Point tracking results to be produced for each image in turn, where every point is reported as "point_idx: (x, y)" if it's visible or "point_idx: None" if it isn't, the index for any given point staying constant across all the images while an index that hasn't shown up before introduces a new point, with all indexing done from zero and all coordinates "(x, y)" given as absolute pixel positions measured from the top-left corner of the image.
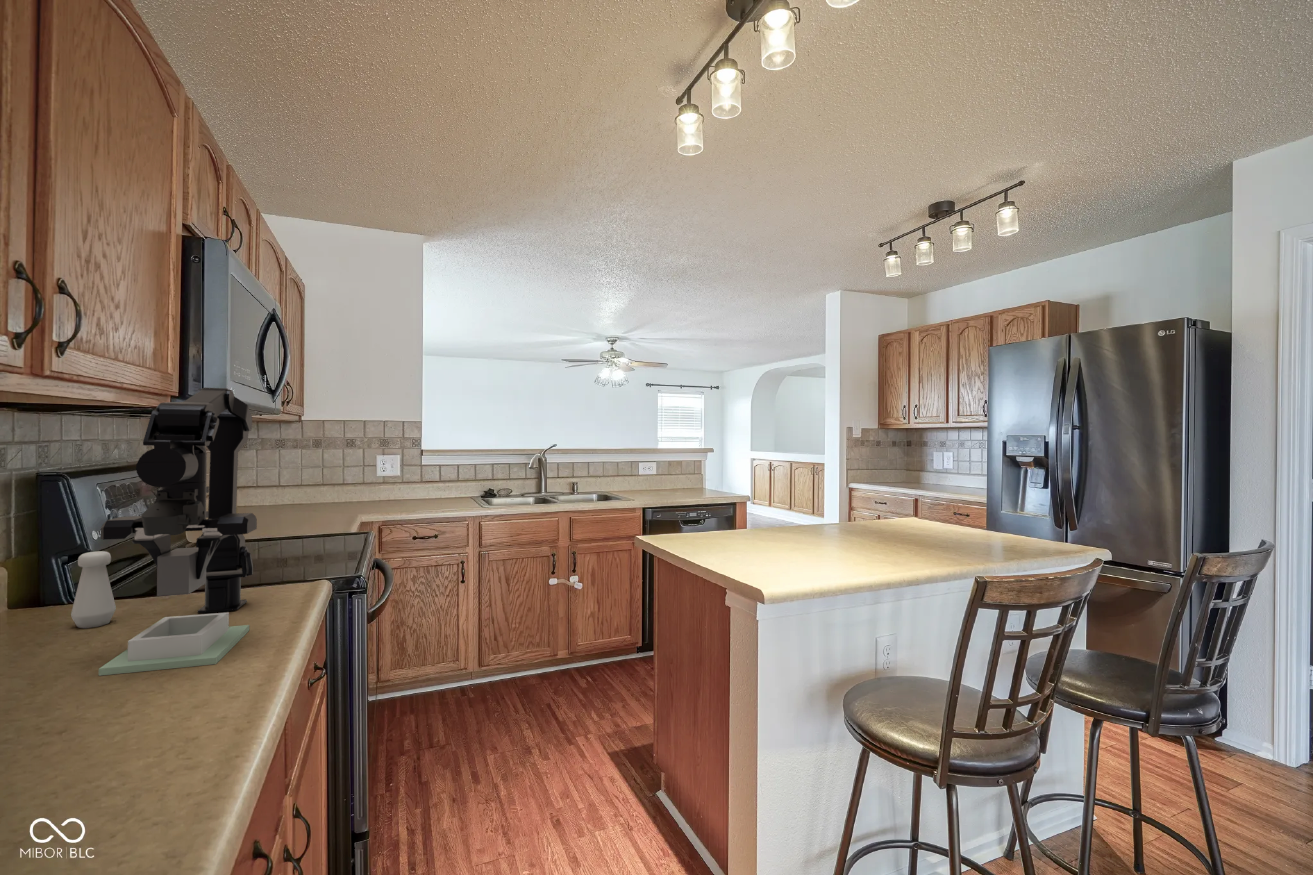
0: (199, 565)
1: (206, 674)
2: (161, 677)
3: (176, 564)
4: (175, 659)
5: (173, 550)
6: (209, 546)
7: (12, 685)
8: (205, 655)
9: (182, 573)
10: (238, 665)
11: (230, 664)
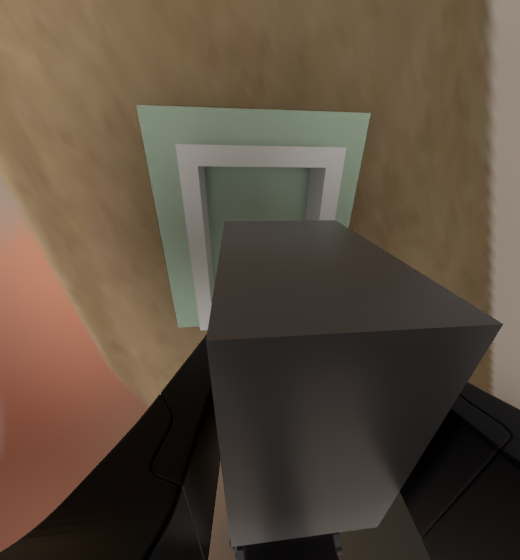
0: (203, 360)
1: (124, 15)
2: (230, 39)
3: (305, 285)
4: (231, 125)
5: (389, 495)
6: (36, 531)
7: (490, 113)
8: (172, 133)
9: (256, 257)
10: (75, 72)
11: (103, 91)
